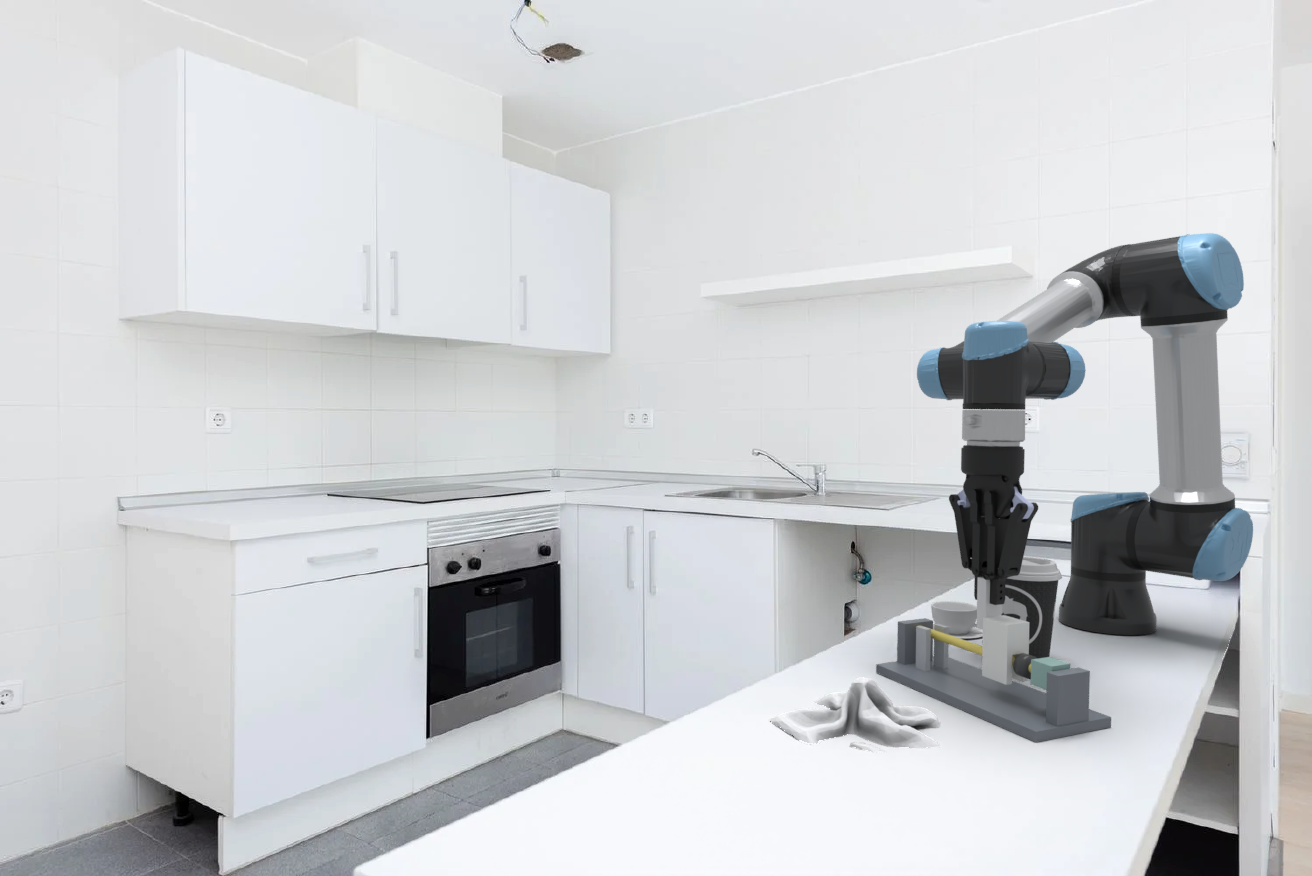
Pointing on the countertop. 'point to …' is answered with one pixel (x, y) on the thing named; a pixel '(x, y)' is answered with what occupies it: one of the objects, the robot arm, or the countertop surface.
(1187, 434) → the robot arm
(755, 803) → the countertop surface
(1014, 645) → the white rectangular block
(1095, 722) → the linear slide fixture
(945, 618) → the teacup
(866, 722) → the cloth
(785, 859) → the countertop surface
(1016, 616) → the coffee cup
